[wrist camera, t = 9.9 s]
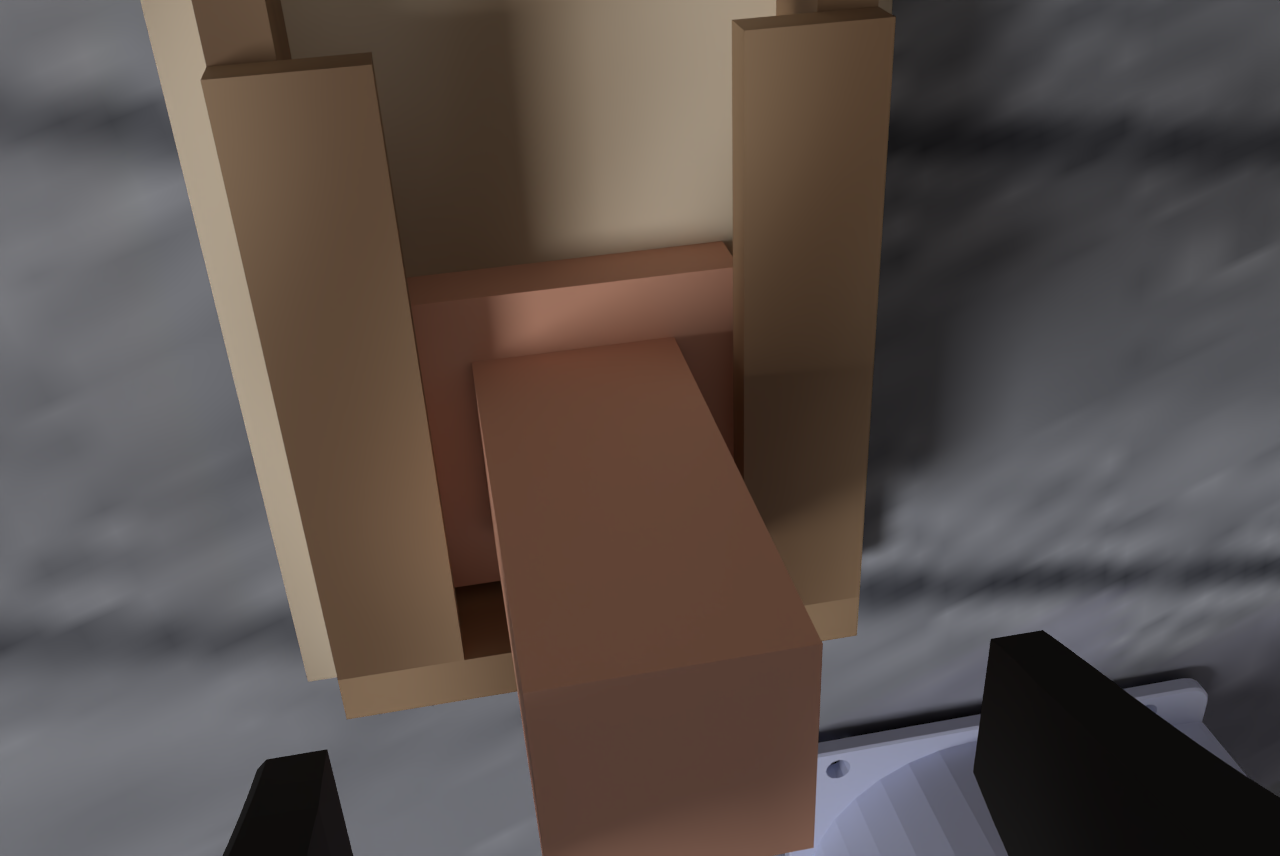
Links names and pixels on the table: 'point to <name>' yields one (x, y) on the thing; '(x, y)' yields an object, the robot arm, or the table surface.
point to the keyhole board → (520, 234)
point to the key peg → (624, 550)
